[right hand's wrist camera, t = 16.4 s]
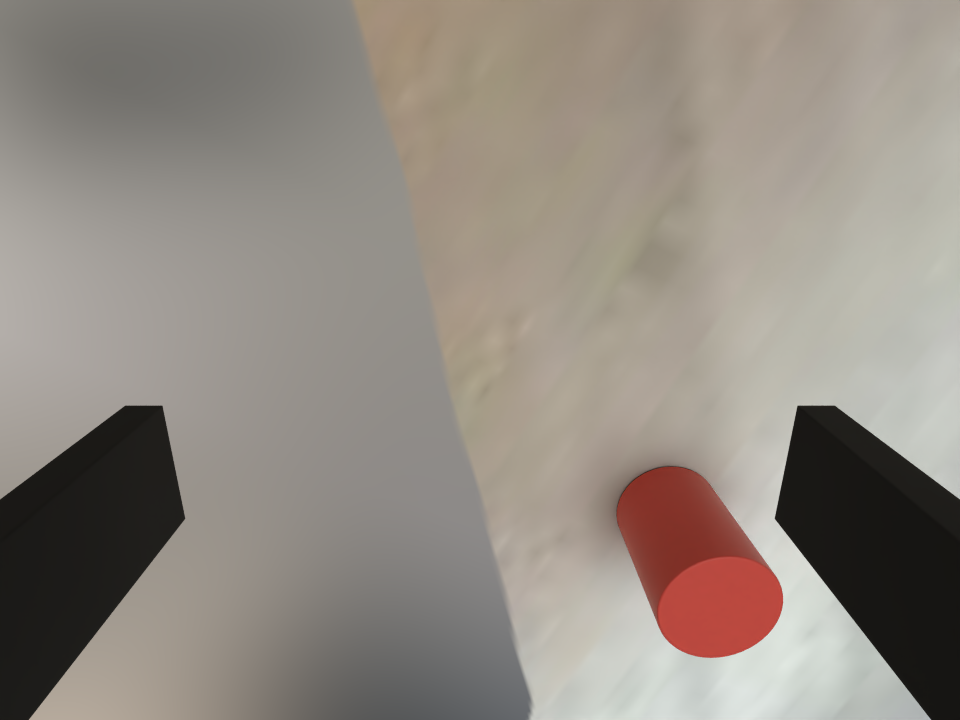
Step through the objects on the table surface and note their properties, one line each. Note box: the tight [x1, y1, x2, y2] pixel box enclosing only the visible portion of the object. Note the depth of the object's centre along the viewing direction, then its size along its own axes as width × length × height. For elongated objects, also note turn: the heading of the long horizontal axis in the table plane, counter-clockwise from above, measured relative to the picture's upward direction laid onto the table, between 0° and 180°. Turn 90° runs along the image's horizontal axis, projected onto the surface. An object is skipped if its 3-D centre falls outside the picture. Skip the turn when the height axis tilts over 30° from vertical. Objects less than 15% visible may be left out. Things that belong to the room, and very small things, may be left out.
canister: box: [617, 467, 783, 658], centre depth 30 cm, size 6×6×8 cm
